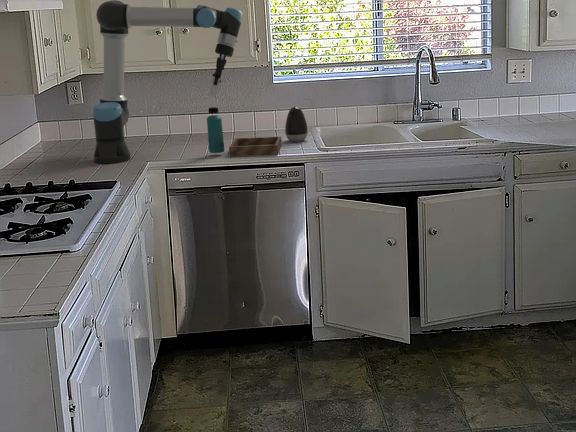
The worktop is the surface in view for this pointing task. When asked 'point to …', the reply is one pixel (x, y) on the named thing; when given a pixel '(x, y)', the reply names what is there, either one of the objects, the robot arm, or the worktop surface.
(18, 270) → the worktop surface
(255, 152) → the walnut tray
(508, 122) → the worktop surface
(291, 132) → the egg on grey base
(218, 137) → the beverage bottle
